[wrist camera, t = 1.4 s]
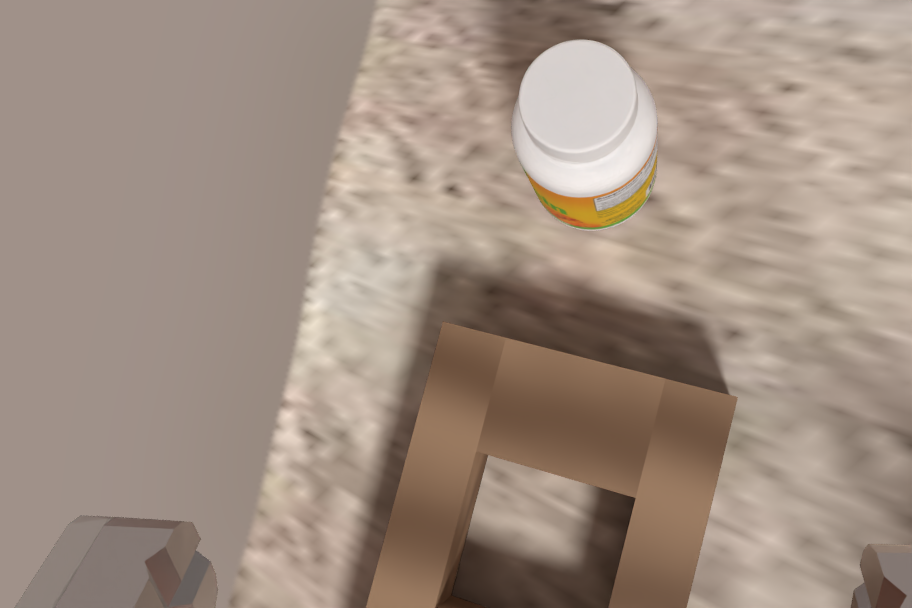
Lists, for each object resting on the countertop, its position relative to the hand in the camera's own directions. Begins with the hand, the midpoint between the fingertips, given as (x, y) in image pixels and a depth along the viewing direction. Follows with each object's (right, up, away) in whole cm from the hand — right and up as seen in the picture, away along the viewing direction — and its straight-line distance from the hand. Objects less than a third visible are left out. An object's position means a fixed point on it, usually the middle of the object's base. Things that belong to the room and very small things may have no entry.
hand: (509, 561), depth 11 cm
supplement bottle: (+6, +9, +28) cm, 30 cm away
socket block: (+3, -7, +26) cm, 27 cm away
